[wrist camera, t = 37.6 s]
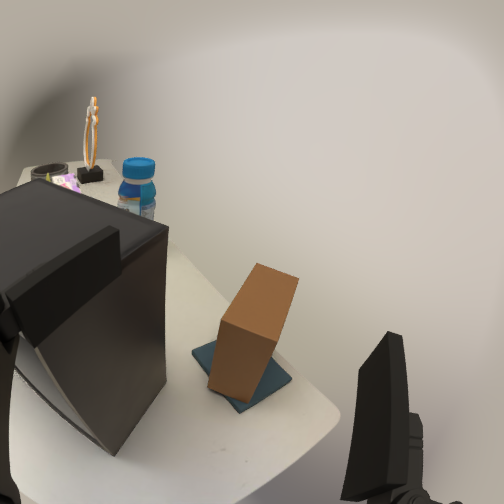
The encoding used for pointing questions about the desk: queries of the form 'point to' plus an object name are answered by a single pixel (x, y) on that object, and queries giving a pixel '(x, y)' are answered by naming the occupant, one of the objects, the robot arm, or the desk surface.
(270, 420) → the desk surface
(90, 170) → the lamp
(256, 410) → the desk surface
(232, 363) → the brown packet
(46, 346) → the mini cabinet
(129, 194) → the beverage bottle
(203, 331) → the desk surface
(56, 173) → the planter
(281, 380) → the silicone mat
